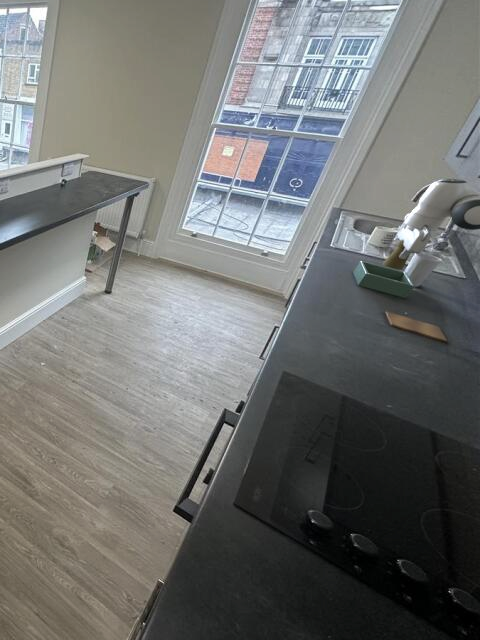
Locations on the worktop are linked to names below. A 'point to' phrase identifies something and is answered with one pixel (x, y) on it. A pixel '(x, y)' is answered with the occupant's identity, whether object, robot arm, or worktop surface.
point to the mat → (415, 326)
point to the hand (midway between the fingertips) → (399, 255)
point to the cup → (421, 267)
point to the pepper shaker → (396, 257)
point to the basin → (383, 279)
